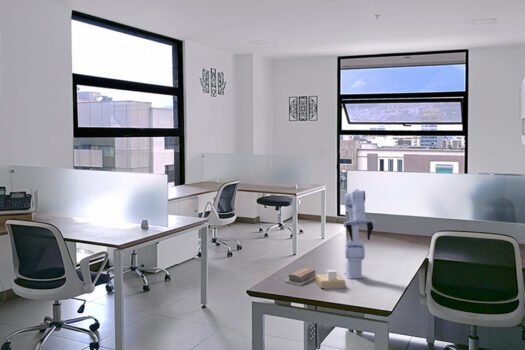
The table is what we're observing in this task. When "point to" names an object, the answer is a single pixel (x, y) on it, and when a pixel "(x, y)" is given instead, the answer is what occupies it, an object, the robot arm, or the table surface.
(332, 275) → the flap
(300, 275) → the packaged product
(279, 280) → the table surface
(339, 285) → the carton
